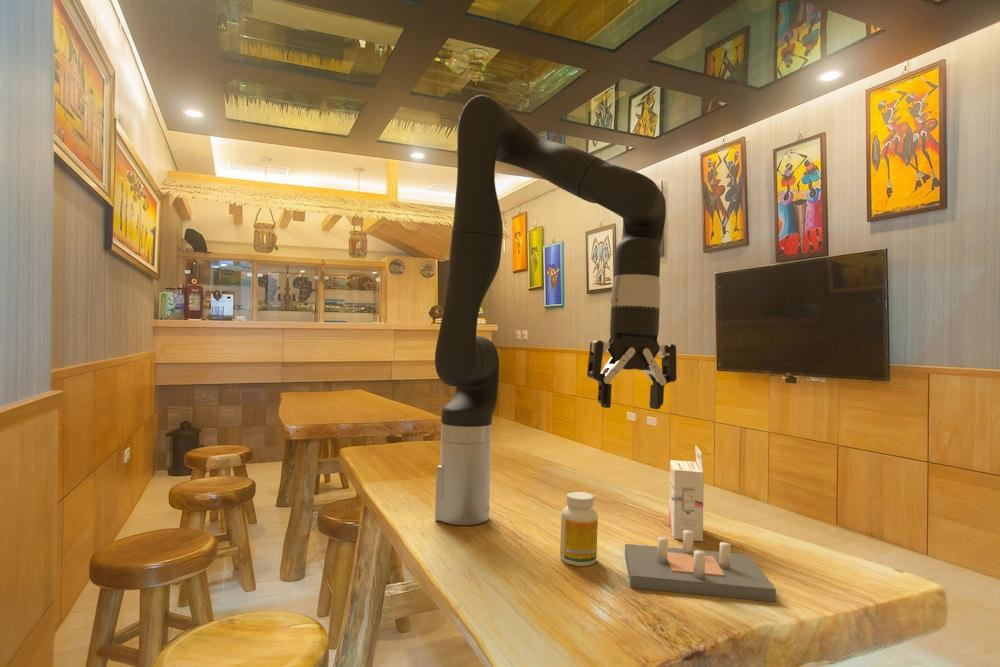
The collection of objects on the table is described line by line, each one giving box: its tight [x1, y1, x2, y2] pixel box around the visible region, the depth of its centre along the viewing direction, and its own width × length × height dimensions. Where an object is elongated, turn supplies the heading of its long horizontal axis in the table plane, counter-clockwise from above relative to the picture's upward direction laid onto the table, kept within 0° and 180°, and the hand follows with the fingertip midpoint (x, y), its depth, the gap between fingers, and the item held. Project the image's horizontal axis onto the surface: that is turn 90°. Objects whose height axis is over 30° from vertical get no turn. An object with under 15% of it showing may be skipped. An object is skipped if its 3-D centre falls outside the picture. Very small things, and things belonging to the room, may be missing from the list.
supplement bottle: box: [559, 491, 599, 567], centre depth 82 cm, size 5×5×10 cm
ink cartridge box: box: [668, 445, 705, 542], centre depth 96 cm, size 9×5×15 cm, turn 168°
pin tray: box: [624, 530, 777, 603], centre depth 77 cm, size 18×12×5 cm, turn 81°
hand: (630, 408), depth 87 cm, fingers open, 8 cm apart
